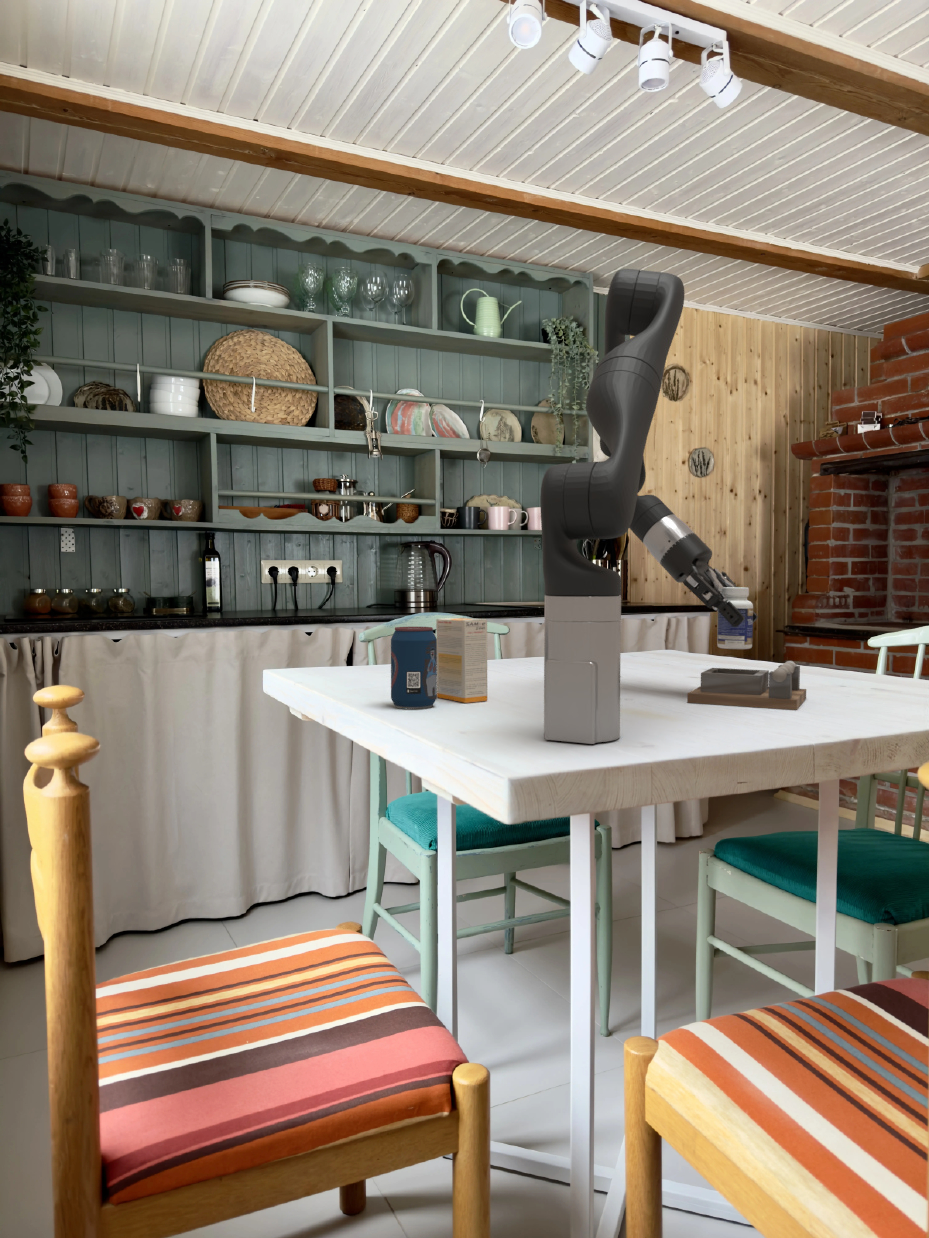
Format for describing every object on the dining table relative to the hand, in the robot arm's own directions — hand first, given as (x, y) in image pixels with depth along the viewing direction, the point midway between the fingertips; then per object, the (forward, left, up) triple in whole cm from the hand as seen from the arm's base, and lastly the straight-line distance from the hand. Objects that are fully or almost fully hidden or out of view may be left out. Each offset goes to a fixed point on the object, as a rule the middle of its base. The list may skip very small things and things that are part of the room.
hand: (746, 622), depth 134 cm
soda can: (-30, +44, -13) cm, 54 cm away
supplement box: (-20, +41, -13) cm, 47 cm away
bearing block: (0, 0, -12) cm, 12 cm away
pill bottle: (0, +2, -4) cm, 5 cm away
